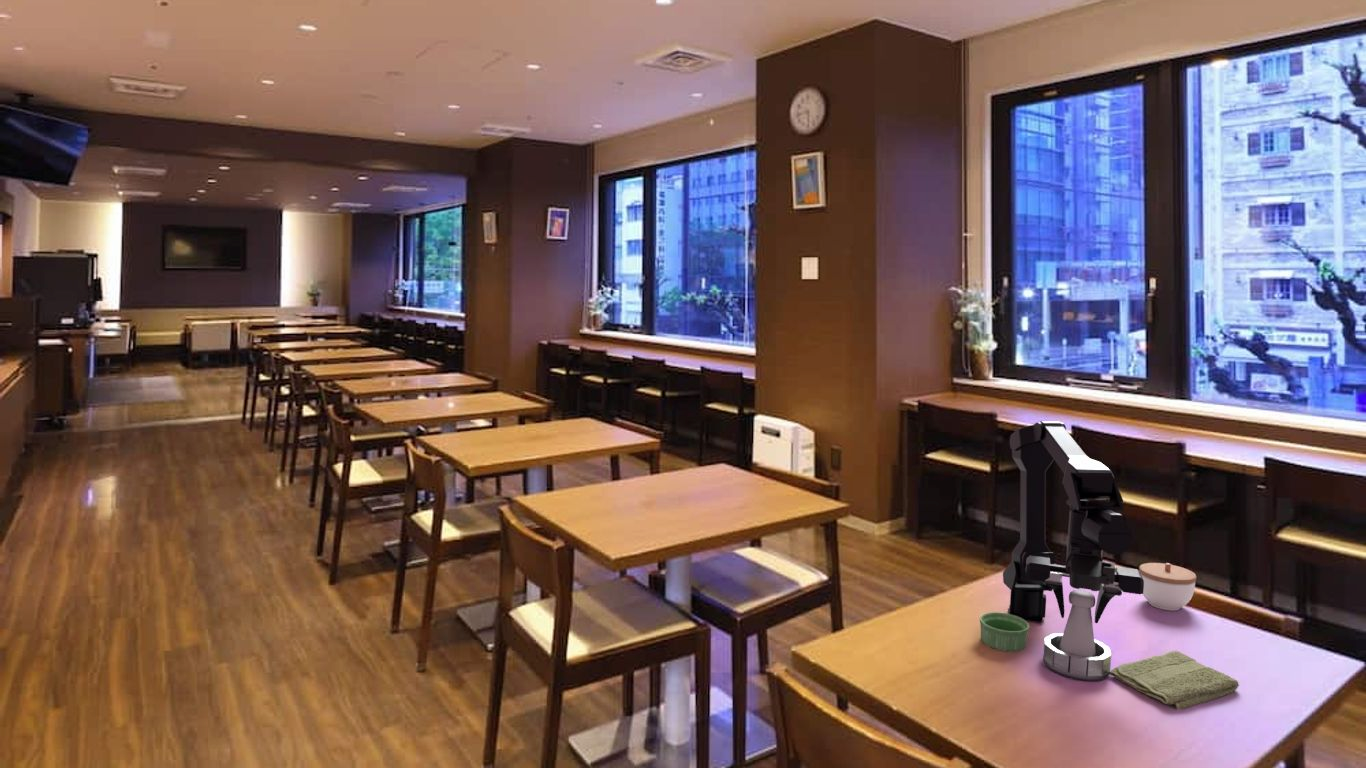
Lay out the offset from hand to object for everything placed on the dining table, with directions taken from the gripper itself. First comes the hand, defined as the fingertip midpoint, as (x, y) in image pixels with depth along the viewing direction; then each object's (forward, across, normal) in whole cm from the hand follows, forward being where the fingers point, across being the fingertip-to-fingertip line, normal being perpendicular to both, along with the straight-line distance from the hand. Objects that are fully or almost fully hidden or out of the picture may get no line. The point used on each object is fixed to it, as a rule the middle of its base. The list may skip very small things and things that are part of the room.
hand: (1079, 619), depth 147 cm
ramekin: (+9, -12, +5) cm, 16 cm away
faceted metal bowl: (+9, 0, 0) cm, 9 cm away
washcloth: (+10, +16, 0) cm, 18 cm away
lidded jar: (+9, +20, +40) cm, 46 cm away
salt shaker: (+8, 0, 0) cm, 8 cm away
